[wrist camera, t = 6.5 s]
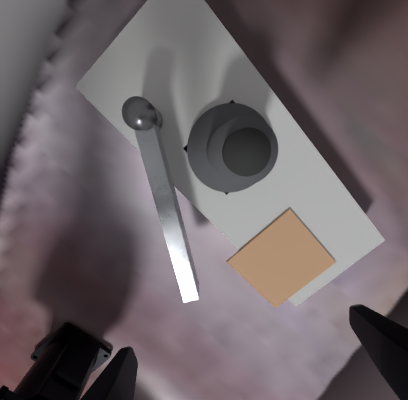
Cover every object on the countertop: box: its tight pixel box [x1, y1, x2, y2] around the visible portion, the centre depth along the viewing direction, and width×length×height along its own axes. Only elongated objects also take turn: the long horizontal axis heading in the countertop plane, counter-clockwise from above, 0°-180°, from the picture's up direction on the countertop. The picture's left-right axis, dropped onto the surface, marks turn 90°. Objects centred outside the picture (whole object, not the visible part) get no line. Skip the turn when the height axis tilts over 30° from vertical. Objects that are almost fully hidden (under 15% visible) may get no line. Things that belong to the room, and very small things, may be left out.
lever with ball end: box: [122, 96, 199, 302], centre depth 15 cm, size 2×14×3 cm, turn 12°
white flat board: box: [75, 0, 385, 308], centre depth 18 cm, size 12×26×3 cm, turn 43°
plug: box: [187, 103, 278, 192], centre depth 14 cm, size 6×6×9 cm
